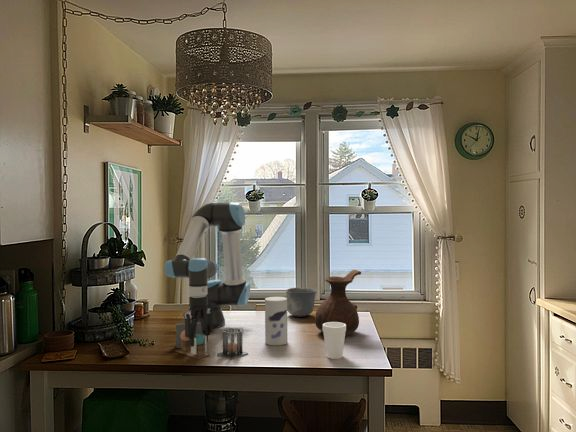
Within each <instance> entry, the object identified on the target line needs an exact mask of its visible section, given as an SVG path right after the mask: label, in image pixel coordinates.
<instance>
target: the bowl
mask: <svg viewBox="0 0 576 432" xmlns="http://www.w3.org/2000/svg"><path fill="white" fill-rule="evenodd" d="M285 293H286V294H285V295H286V298H287V313H288V314H290V315H291V316H294V317H300V318H302V317H307V316H309V315H311V314H312V313H313V312H314V309H315V299H316V295H317V294H316V293H317V289H316V288H311V287H291V288H287V289H286V290H285Z"/></svg>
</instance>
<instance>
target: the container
mask: <svg viewBox="0 0 576 432" xmlns="http://www.w3.org/2000/svg"><path fill="white" fill-rule="evenodd" d="M264 310H265V311H264V329H265V330H264V331H265V333H264V334H265V336H264V337H265V338H264V339H265V341H264V342H265V344H266V345H269V346H282V345H283V346H284V345H286V344H288V310H287V297H284V296H269V297H265V298H264Z"/></svg>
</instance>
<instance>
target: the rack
mask: <svg viewBox="0 0 576 432" xmlns="http://www.w3.org/2000/svg"><path fill="white" fill-rule="evenodd" d="M175 352H176V353H179V354H183V355H185V356H187V357H191V358H194V359H197V360H199V359H204V358H207V357H210V356H211V354H209V353H206V352H204V344H202V345H196V353H197V354H196V355H194V354H191V346H190V340H189V341H183V340H182V341H181V348H180V349H179V348H178V349H176V350H175Z"/></svg>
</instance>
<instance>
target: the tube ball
mask: <svg viewBox="0 0 576 432" xmlns="http://www.w3.org/2000/svg"><path fill="white" fill-rule="evenodd" d="M227 350H228V352H229V353H231V342H228V346H227ZM236 352H237V342H235V341H234V342H233V353H236Z"/></svg>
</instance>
